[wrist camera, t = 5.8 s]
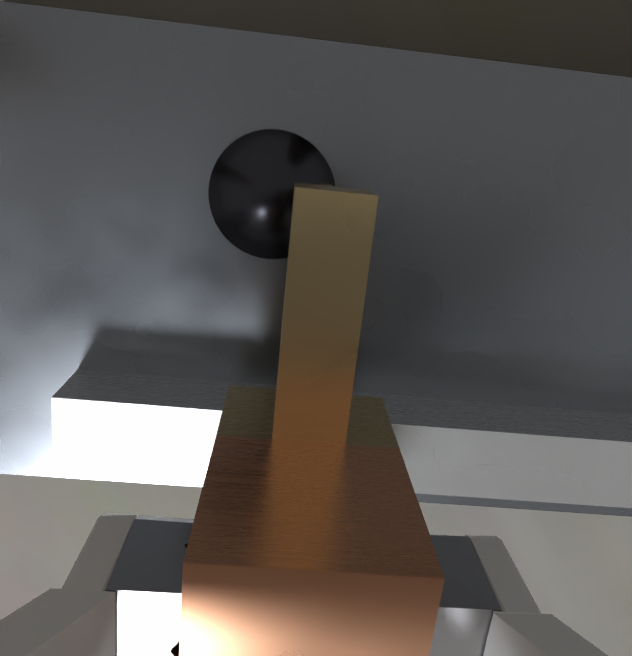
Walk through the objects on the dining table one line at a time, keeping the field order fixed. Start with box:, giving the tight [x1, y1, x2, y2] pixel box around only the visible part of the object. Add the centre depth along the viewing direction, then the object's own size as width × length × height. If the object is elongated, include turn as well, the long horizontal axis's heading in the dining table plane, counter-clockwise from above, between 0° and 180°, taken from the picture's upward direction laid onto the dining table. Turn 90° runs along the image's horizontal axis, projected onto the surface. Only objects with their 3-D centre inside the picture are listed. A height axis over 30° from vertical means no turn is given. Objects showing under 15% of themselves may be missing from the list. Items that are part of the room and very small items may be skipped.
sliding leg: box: [179, 182, 445, 656], centre depth 10 cm, size 3×7×6 cm, turn 174°
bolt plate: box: [0, 1, 632, 516], centre depth 12 cm, size 26×10×5 cm, turn 84°
